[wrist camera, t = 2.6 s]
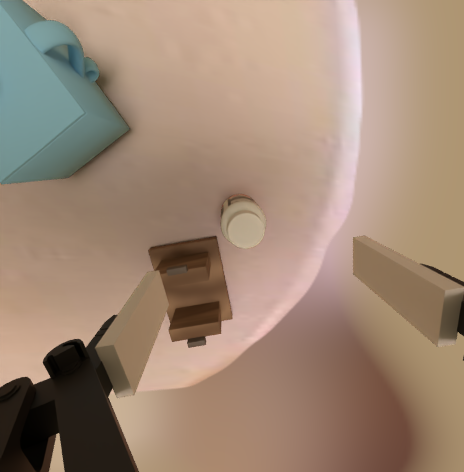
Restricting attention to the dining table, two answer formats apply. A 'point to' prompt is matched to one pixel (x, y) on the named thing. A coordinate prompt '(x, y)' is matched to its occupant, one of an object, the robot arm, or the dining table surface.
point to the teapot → (48, 99)
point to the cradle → (193, 288)
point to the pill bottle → (242, 221)
